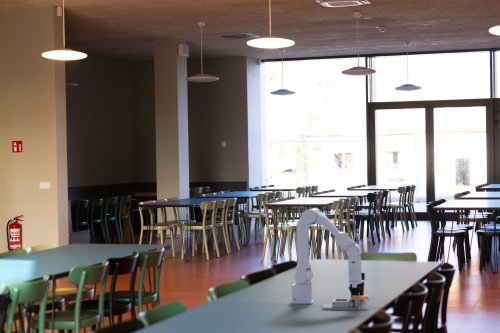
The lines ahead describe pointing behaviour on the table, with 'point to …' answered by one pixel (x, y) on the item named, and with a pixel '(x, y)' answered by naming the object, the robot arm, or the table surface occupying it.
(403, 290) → the table surface
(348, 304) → the dock
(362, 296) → the pin
